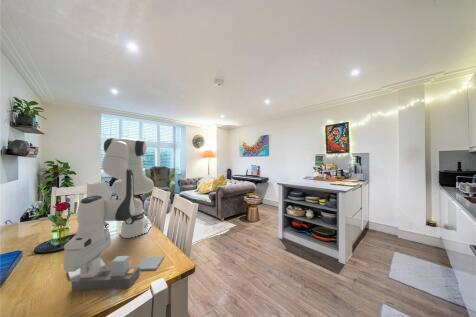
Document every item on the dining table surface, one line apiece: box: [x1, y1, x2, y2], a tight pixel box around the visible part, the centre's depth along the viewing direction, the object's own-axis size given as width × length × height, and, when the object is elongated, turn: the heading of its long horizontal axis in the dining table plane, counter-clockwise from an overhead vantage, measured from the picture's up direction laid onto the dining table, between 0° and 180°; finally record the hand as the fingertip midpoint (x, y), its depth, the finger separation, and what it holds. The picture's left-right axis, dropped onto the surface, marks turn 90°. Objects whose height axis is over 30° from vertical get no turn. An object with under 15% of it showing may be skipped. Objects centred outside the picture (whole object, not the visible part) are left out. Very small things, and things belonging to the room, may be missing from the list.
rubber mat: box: [135, 256, 165, 272], centre depth 85 cm, size 10×10×1 cm
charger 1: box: [80, 256, 101, 278], centre depth 71 cm, size 4×5×8 cm
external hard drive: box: [67, 258, 107, 281], centre depth 80 cm, size 2×8×12 cm
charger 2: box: [110, 255, 130, 276], centre depth 72 cm, size 4×5×6 cm
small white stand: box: [86, 181, 110, 226], centre depth 134 cm, size 11×11×35 cm
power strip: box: [71, 266, 141, 292], centre depth 72 cm, size 8×22×4 cm, turn 94°
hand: (90, 268), depth 71 cm, fingers closed on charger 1, 4 cm apart
